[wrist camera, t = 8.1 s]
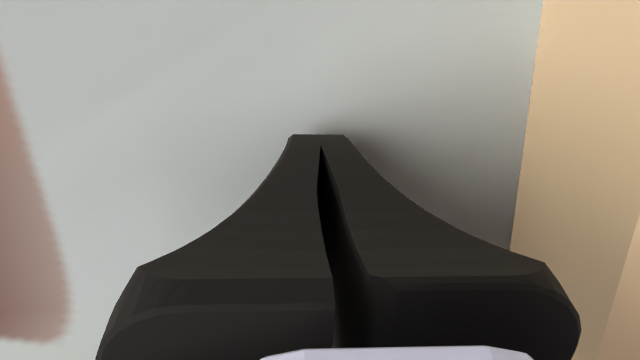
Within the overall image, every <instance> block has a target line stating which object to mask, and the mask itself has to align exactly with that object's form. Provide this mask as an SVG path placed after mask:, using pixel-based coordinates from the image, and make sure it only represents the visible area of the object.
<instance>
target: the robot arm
mask: <svg viewBox="0 0 640 360" xmlns="http://www.w3.org/2000/svg"><path fill="white" fill-rule="evenodd" d="M581 331H582V330H581V322H580V315H579V314H578V312H577V310H576V309H575V307H574V306H573V304H572V303H571V301H570V299H569V297H568V296H567V294H566V292H565V291H564V289H563V287H562V286H561V284H560V282H559V281H558V280H557V278H556V277H555V275H554V274H553V273H552V271H551V270H550V269H549V267H548V266H547V265H546V263H545V262H542V261H539V260H536V259H533V258H530V257H527V256H524V255H521V254H518V253H515V252H512V251H509V250H506V249H503V248H500V247H497V246H495V245H493V244H490V243H488V242H485V241H483V240H481V239H478V238H476V237H474V236H471V235H469V234H467V233H465V232H463V231H461V230H459V229H457V228H455V227H453V226H451V225H449V224H448V223H446V222H444V221H442V220H440V219H438V218H437V217H435V216H433V215H432V214H430V213H428V212H427V211H425V210H424V209H422V208H421V207H419V206H418V205H416V204H415V203H414V202H412V201H411V200H409V199H408V198H406V197H405V196H404V195H403V194H401V193H400V192H399V191H397V190H396V189H395V188H394V187H393V186H392V185H391V184H389V183H388V182H387V181H386V180H385V179H384V178H383V177H382V176H381V175H379V174H378V172H377V171H376V170H375V169H374V168H373V167H372V166H371V165H370V164H369V163H368V162H367V161H366V160H365V159H364V158H363V156H362V155H361V154H360V153H359V152H358V151H357V150H356V148H355V147H354V146H353V145H352V144H351V142H350V141H349V140H348V139H347V138H346V137H345V136H344V135H298V134H293V135H292V136H291V137H290V138H289V139H288V142H287V144H286V147H285V149H284V151H283V153H282V154H281V156H280V158H279V160H278V161H277V163H276V164H275V166H274V167H273V169H272V170H271V172H270V173H269V175H268V176H267V177H266V179H265V180H264V181H263V182H262V184H261V185H260V186H259V187H258V188H257V190H256V191H255V192H254V193H253V194H252V195H251V196H250V198H249V199H248V200H247V201H246V202H245V203H244V204H243V205H242V206H241V207H240V208H238V209H237V210H236V211H235V212H234V213H233V214H232V215H231V216H229V217H228V218H227V219H225V220H224V221H223V222H221V223H220V224H219V225H217V226H216V227H215V228H213V229H212V230H210V231H209V232H207V233H206V234H204V235H202V236H201V237H199V238H198V239H196V240H194V241H192V242H190V243H189V244H187V245H185V246H183V247H181V248H179V249H177V250H175V251H173V252H171V253H169V254H167V255H164V256H162V257H160V258H158V259H155V260H153V261H151V262H149V263H146V264H144V265H141V266H139V267H138V268H137V269H136V270H135V272H134V274H133V275H132V277H131V279H130V280H129V282H128V284H127V286H126V287H125V289H124V291H123V292H122V294H121V296H120V298H119V299H118V301H117V303H116V305H115V307H114V310H113V312H112V314H111V316H110V319H109V322H108V324H107V327H106V330H105V332H104V335H103V338H102V340H101V343H100V346H99V349H98V352H97V355H96V360H571V359H572V357H573V355H574V353H575V350H576V348H577V346H578V342H579V338H580V334H581Z"/></svg>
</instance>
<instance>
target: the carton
mask: <svg viewBox="0 0 640 360" xmlns="http://www.w3.org/2000/svg"><path fill="white" fill-rule="evenodd" d="M510 251H512V252H515V253H518V254H521V255H524V256H527V257H530V258H533V259H536V260H539V261H542V262H545V263H546V265H547V266H548V267H549V269H550V270H551V271H552V273H553V274H554V275H555V277H556V278H557V280H558V281H559V282H560V284H561V286H562V287H563V289H564V291H565V292H566V294H567V296H568V297H569V299H570V301H571V303H572V304H573V306H574V307H575V309H576V310H577V312H578V314H579V315H580V322H581V330H582V331H581V334H580V338H579V342H578V346H577V348H576V350H575V353H574V355H573V357H572V359H571V360H640V0H543V7H542V14H541V22H540V29H539V37H538V44H537V51H536V59H535V66H534V74H533V81H532V89H531V96H530V103H529V111H528V118H527V126H526V133H525V141H524V148H523V155H522V163H521V170H520V178H519V185H518V193H517V200H516V207H515V215H514V222H513V230H512V237H511V245H510Z"/></svg>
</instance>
